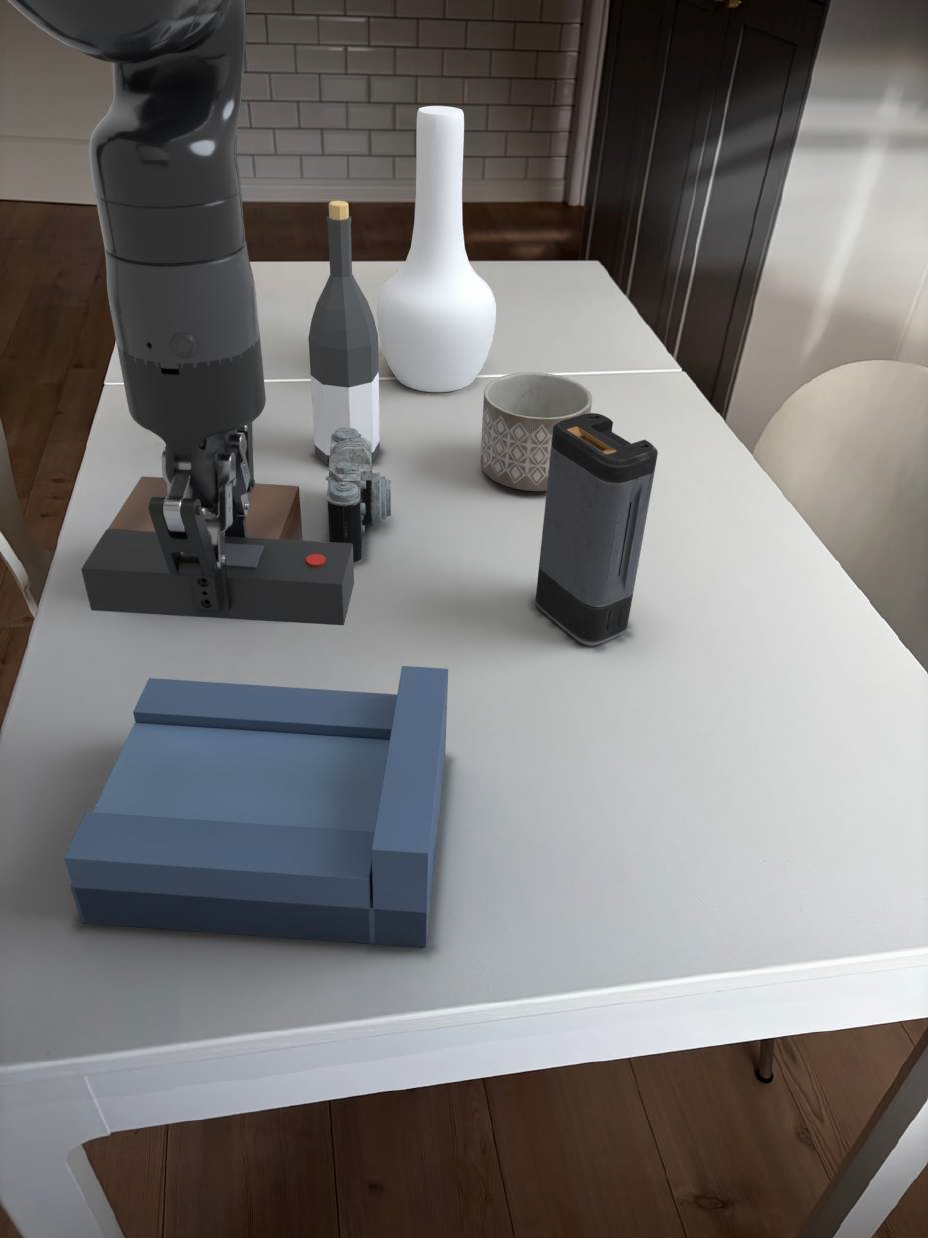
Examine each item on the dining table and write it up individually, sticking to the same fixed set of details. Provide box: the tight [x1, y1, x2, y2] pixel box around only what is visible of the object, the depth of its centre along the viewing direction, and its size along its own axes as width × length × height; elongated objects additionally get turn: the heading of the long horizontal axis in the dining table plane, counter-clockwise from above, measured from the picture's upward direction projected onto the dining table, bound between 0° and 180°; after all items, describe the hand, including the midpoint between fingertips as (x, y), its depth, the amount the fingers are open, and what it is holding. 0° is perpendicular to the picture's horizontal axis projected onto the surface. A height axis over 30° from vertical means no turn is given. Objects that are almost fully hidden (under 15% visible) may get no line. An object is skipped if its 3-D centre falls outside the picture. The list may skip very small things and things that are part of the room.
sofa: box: [63, 665, 449, 948], centre depth 72 cm, size 24×18×10 cm
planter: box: [479, 371, 593, 492], centre depth 119 cm, size 13×13×10 cm
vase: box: [376, 105, 497, 393], centre depth 133 cm, size 17×17×35 cm
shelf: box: [107, 475, 304, 541], centre depth 98 cm, size 16×10×9 cm, turn 87°
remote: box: [80, 528, 355, 626], centre depth 63 cm, size 16×5×3 cm, turn 87°
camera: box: [325, 428, 392, 565], centre depth 107 cm, size 15×7×10 cm, turn 4°
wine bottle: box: [307, 200, 381, 467], centre depth 115 cm, size 8×8×30 cm
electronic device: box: [534, 412, 659, 647], centre depth 93 cm, size 9×6×20 cm, turn 34°
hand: (223, 587), depth 63 cm, fingers closed on remote, 4 cm apart
